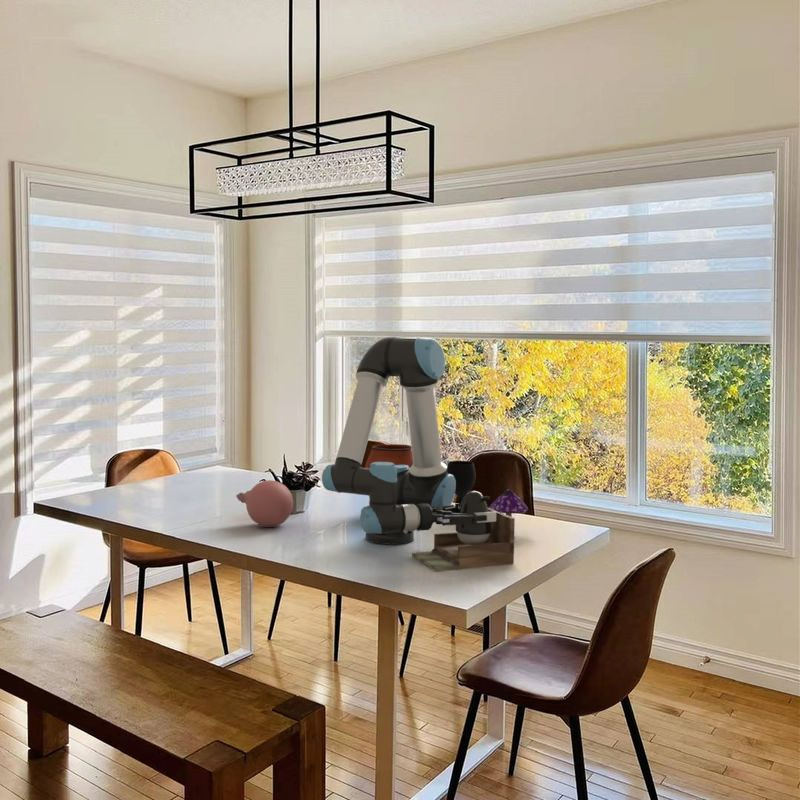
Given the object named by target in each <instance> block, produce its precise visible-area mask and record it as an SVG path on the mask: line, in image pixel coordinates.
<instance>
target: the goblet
mask: <svg viewBox="0 0 800 800" xmlns="http://www.w3.org/2000/svg"><path fill="white" fill-rule="evenodd" d="M371 446H372V447H371V450H370V453H369V455H368V457H367V460H366V463H365V466H364V468H370V464H371V463H373V462H391V463H394V464H395V465H408V466H409V468H410V467H411V466H412V465H413V457H412V447H411V445H408V444H400V443H399V444H396V443H394V444H392V443H391V444H376V445H371Z"/></svg>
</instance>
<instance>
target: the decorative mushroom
mask: <svg viewBox="0 0 800 800" xmlns="http://www.w3.org/2000/svg"><path fill="white" fill-rule="evenodd" d="M489 508H490V509H493V510H495V511H498V512H500V513H503V514H505V515H508V516H510V517H513V515H514V514H522V513H526V512H528V511H529V507H528V506H527V505H526V504H525V503H524V502H523V501H522V499H521V498H520V497H519V496H518V495H517V494H516V493H515V492H514V491H513V490H512V489H506V490H505V492H504V493H502V494H501V495H500V496H498V497H497V498H496V499H495V500H494V501H493V502H492V503H491V504H490V505H489ZM512 514H513V515H512Z"/></svg>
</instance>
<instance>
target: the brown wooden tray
mask: <svg viewBox="0 0 800 800" xmlns="http://www.w3.org/2000/svg"><path fill="white" fill-rule="evenodd" d="M488 510H489V512H496V522H491V532H490V535H489V537H488V539H487V541H486V542H484V543H483V544H480V545H468V544H465V543H463V542H462V541H460V539H459V538H458V535H457V532H456V531H455V532H443V533H434V534H433V535H434V536H433V538H434V539H433V549H431V550H428V551H417V552H411V557H413V556H414V557H415V559H416V558H417V559H418V560H417V559H416V560H417V561H419V560H420V561H421V562H420V561H419V562H420V563H422V562H423V563H422V564H424V563H425V564H426V566H427V565H428V566H429V568H430V567H431V568H430V569H431V570H433V569H434V571H435V572H436V571H437V572H446V571H445V570H447V571H453V569H454V571H456V570H465V569H473V568H483V567H493V566H503V565H504V564H505V565H514V564H515V563H514V559H515V556H514V555H515V526H516V525H515V523H516V522H515V519H516V518H514V517H513V516H512V517H510V516H508V515H506V513H500V512H498V511H495V510H493V509H490V507H488ZM414 557H413V558H414ZM513 563H514V564H513ZM425 564H424V565H425ZM505 565H504V566H505ZM428 566H427V567H428ZM455 569H456V570H455Z"/></svg>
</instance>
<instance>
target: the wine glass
mask: <svg viewBox="0 0 800 800" xmlns="http://www.w3.org/2000/svg"><path fill="white" fill-rule="evenodd" d="M446 466H447V473H448V474H451V475H453V476H454V478H455V480H456V489H455V495H456V496H457V498H458V504H459V507H460V506H461V503H462V501H463V498H464V497H465V495H466V494H467V493H468V492H470V491H472V489H473V487H474V486H475V483H476V477H477V475H476V474H477V473H476V468H475V464H474V462H473V461H467V460H451V461H448V463H447V465H446Z"/></svg>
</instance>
